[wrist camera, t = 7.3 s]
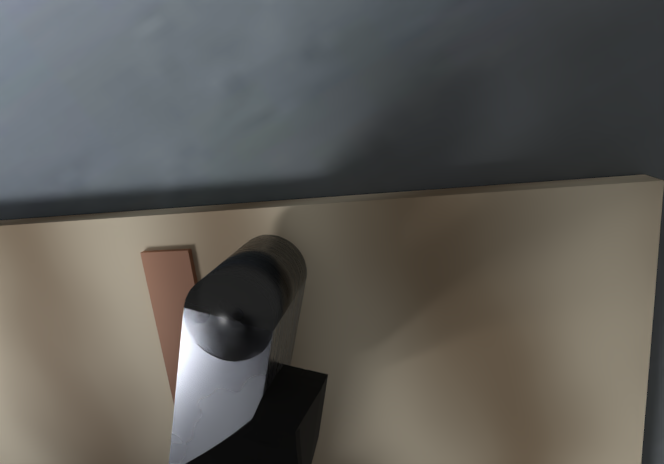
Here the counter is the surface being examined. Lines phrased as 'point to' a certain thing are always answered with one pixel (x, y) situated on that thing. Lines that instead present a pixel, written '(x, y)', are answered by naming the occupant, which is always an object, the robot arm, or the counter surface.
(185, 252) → the base
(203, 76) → the counter surface
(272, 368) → the grey lever handle
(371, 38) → the counter surface
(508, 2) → the counter surface
